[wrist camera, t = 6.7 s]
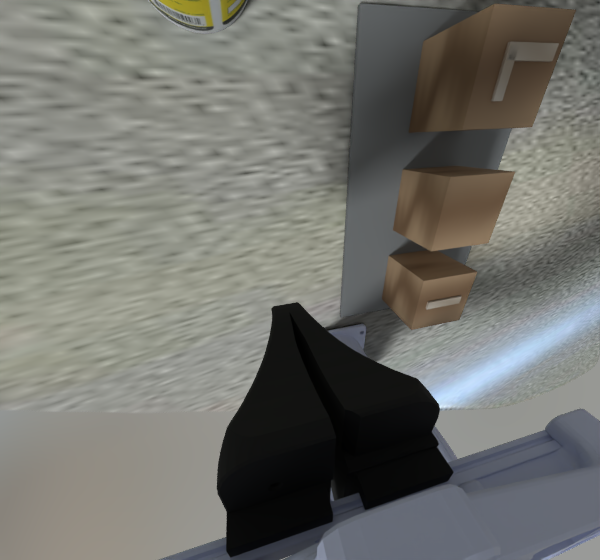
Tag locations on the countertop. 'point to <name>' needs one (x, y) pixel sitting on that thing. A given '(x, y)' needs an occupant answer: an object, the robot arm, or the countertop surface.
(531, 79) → the digit block 7
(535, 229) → the countertop surface
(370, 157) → the mat
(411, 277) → the digit block 1
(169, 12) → the pill bottle
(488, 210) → the plain block
